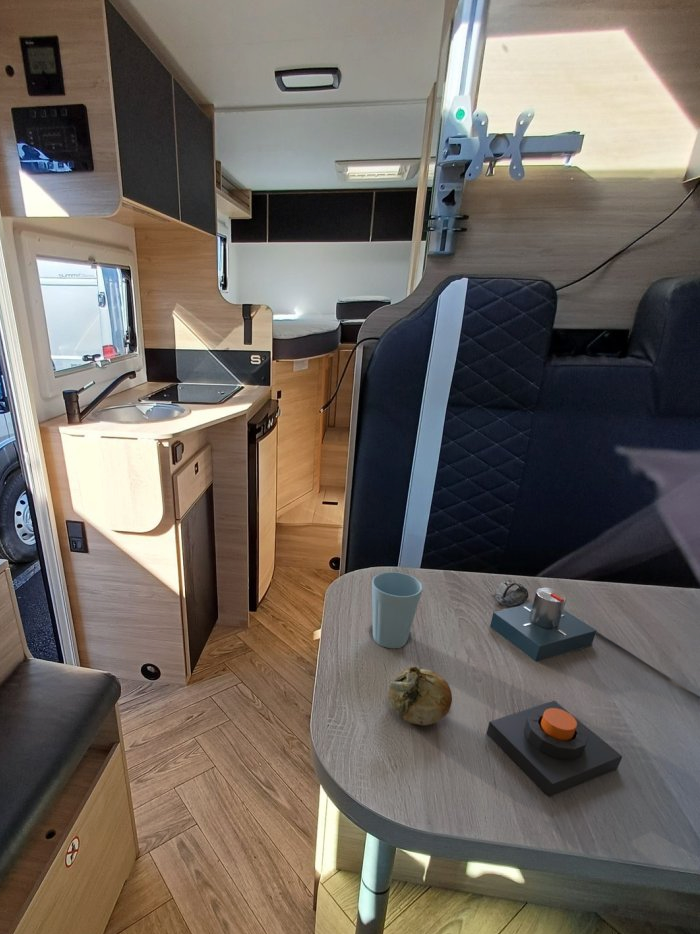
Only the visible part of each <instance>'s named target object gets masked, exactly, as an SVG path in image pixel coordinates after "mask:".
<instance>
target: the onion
mask: <svg viewBox="0 0 700 934" xmlns="http://www.w3.org/2000/svg"><path fill="white" fill-rule="evenodd" d="M388 687H389V691H388V695H389V700H390V704H391V706H392V708H393V711H394V712H396V714H397V715H398V716H399V717H400V718H401V719H403V720H404V721H405V722H407V723H409V724H412V725H419V726H429V725H433V724H435V723H438V722H439V721H441V720H442V719H444V717H446V716H447V715H448V713H449V711H450V709H451V708H452V707H451V706H452V703H453V695H452V690H451V687H450V685H449V683H448V681H447V680H446V679H445V678H444V677H443V676H442V675H440V674H438V673H437V672H435V671H432V670H430V669H427V668H420V667H418V666H416V665H415V666H411V667H409V668H407V669H405V670H403V671H401V672H400V673H399V674H398V675H396V677H395V679H394V680H388Z"/></svg>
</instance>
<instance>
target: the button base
mask: <svg viewBox="0 0 700 934" xmlns="http://www.w3.org/2000/svg"><path fill="white" fill-rule="evenodd" d="M549 708H557V709H561V710H564V711H566V712H568V713H569V714H571V712H569V711H568V710H567V709H566V708H564V707H563V705H561V704H560V703H558V702H557V701H556V700H551V701H548V702H545V703H542V704H539V705H536V706H533V707H529V708H527V709H524V710H521V711H517V712H515V713H512V714H509V715H506V716H502V717H500V718H497V719H493V720H490V721H489V722H488V726H487V729H486V735H487V736H488V738H490V739H491V741H493V743H494V744H496V746H498V748H500V750H502V752H503V753H504V754H506V756H507V757H508V758H509V759H510V760H511V761H512V762H513V763H514V764H515V765H516V766H517V767H518V768H519V770H521V771H522V772H523V773H524V774H525V775H526V776H527V777H528V778H529V779H530V781H532V782H533V784H534V785H535V786H536V787H538V788H539V790H541V792H543V794H544V795H545V796H546V797H548V798H550V797H552V796H555V795H557V794H560V793H562V792H564V791H567V790H569V789H572V788H574V787H577V786H579V785H582V784H584V783H587V782H588V781H589V782H590V781H591V780H594V779H596V778H599V777H601V776H603V775H606V774H609V773H611V772H614V771H616V770H618V768H619V765H620V763H621V761H622V759H623V755H622V754H621V753H619V752H618V751H617V750H615V748H613V747H612V746H611V745H610V744H608V743H607V742H606V741H605V740H603V739H602V738H601V737H600V736H599V735H597V734H596V733H595V732H594V731H592V730H591V729H590V728H589V727H587V726H586V725H585V724H584V723H582V721H580V720H579V719H578V718H577V717H576V716H574V715H573V714H571V715H572V716H573V717H574V718H575V720H576V722H577V727H576V730H575V733H574V735H573V738H572V739H570V740H567V741H563V740H557V739H555V738H553V737H551V736H548V735H547V734H546V733H545V732H544V731H543V730H542V728H541V721H542V718H543V714H544V712H545V711H546V710H547V709H549Z"/></svg>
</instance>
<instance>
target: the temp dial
mask: <svg viewBox="0 0 700 934" xmlns="http://www.w3.org/2000/svg"><path fill="white" fill-rule="evenodd" d="M567 599H568V597H567V595H566V594H565V593H564V592H562V591H561V590H558V589H555V588H552V587H540V588H537V589H536V592H535V595H534V599H533V602H532V603H533V606H532V609H531V613H530V617H529V618H530V620H531V621H532V622H533V623H534V624H536V625H538V626H540V627H544V628H556V627H557V626H558V625H559V622H560V619H561V616H562V613H563V609H564V610H565V606H566V603H567Z"/></svg>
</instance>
